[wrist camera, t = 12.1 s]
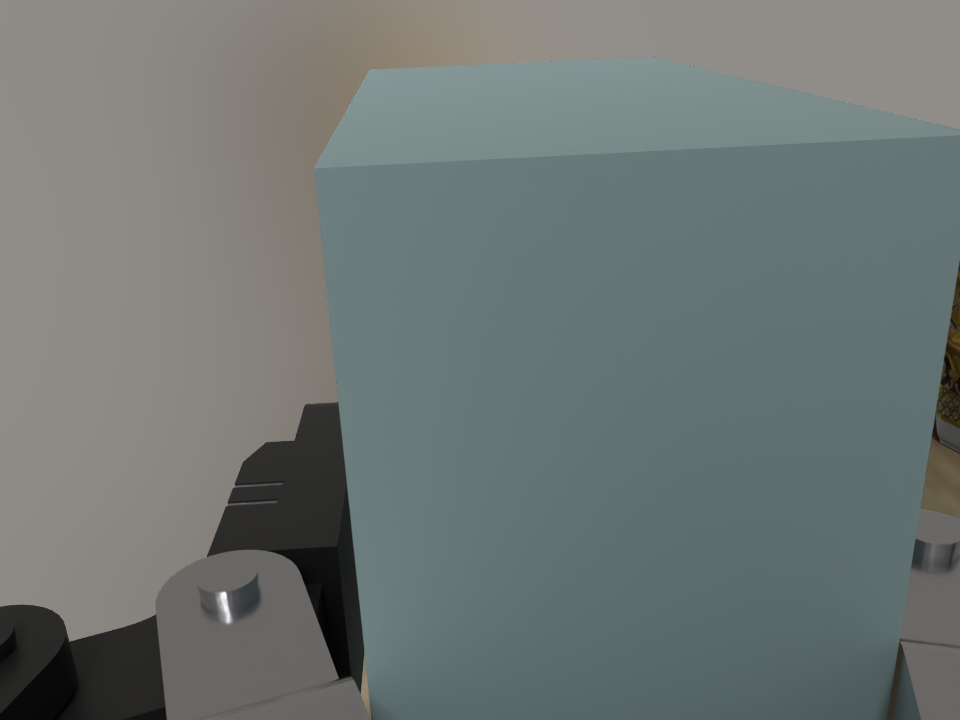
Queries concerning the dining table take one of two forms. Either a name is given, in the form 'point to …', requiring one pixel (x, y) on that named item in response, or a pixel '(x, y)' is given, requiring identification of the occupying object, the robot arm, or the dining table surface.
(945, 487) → the dining table surface
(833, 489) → the book
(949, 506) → the dining table surface
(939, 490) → the dining table surface
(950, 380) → the ceramic cup
